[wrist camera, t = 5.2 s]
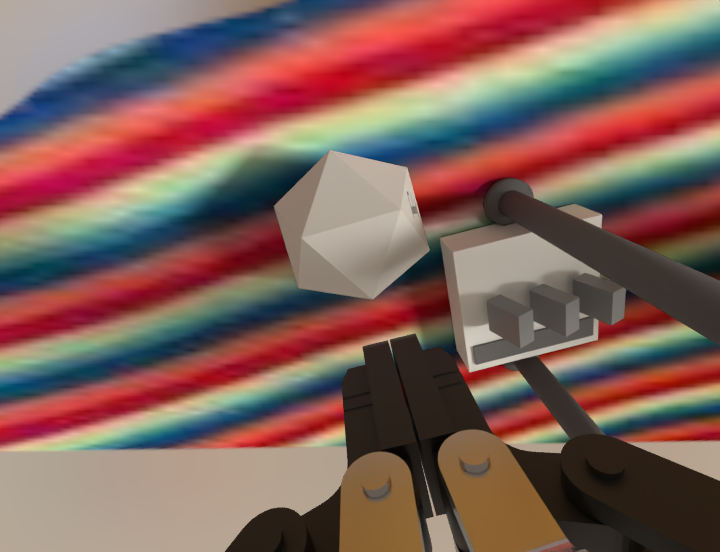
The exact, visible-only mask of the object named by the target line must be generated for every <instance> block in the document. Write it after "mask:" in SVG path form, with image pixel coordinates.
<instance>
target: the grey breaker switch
mask: <svg viewBox="0 0 720 552" xmlns="http://www.w3.org/2000/svg"><path fill="white" fill-rule="evenodd" d="M573 295H574V296H577V297H579V312H580V313H583V314H585V315H587V316H590V317H592V318H595V319H597V320H600V321H602V322H604V323H607V324H609V325H613V324H615V323H616V322H618V321H620V320H621V319H623V318H624V310H625V295H626V289H625V288H623V287H622V286H620V285H618V284H617V283H615V282H613V281H610V280H607V279H603V278H600V277H597V276H594V275H591V274H588V273H583V274H582V275H580V276H578V277H576V278H574V279H573Z"/></svg>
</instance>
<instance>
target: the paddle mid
mask: <svg viewBox="0 0 720 552" xmlns="http://www.w3.org/2000/svg"><path fill="white" fill-rule="evenodd" d="M529 291H530V308H531V309H533V321H534V322H536V323H538V324H540V325H543V326H545V327H547V328H549V329H551V330H553V331H555V332H557V333H559V334H561V335H563V336H565V337H567V336H568V335H570V334H572V333H574V332H575V331H577V330H579V297H577V296H574V295H572V294H569V293H566V292H564V291H561V290H558V289H556V288H553V287H550V286H548V285H545V284H543V283H542V284H540V285H539V286H537V287H535V288H533V289H531V290H529Z"/></svg>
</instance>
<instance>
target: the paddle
mask: <svg viewBox="0 0 720 552" xmlns="http://www.w3.org/2000/svg"><path fill="white" fill-rule="evenodd" d="M486 302H487V312H488V322H489V330H490V331H491V332H493V333H495V334H496V335H498V336H500V337H502V338H503V339H505V340H507V341H508V342H510V343H512V344H514V345H515V346H517V347H519V348H522V347H524V346H526V345H527V344H529V343H531V342H533V341H534V323H533V309H531V308H529V307H527V306H525V305H522V304H520V303H518V302H516V301H514V300H511V299H509V298H507V297H505V296H503V295H500V294H499V295H497V296H495V297H493V298H491V299H489V300H488V301H486Z"/></svg>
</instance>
